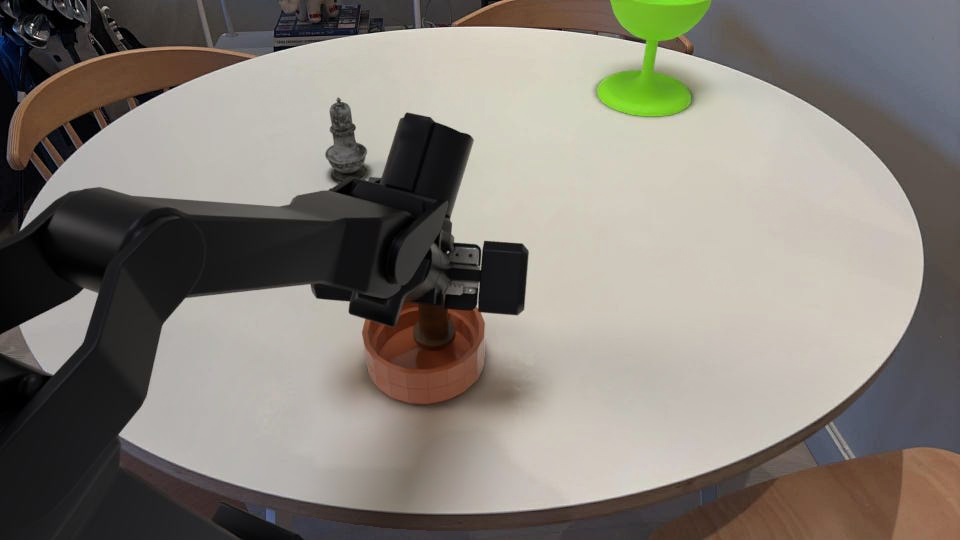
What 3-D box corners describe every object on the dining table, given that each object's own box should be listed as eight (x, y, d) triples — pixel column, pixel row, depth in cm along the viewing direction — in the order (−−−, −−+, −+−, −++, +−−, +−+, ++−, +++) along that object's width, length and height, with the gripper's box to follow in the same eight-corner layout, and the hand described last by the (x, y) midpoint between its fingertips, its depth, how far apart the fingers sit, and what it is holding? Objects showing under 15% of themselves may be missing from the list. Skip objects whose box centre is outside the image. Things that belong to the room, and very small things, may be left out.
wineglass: (710, 106, 117) (736, -4, 105) (628, 124, 112) (645, 11, 100) (656, 68, 128) (674, -35, 116) (580, 83, 123) (590, -23, 112)
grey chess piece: (320, 177, 100) (306, 100, 92) (346, 159, 104) (335, 83, 96) (351, 189, 98) (340, 111, 90) (378, 170, 102) (369, 94, 94)
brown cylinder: (436, 357, 70) (430, 257, 62) (404, 337, 72) (394, 238, 64) (464, 333, 73) (462, 233, 65) (432, 314, 75) (427, 216, 67)
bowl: (431, 428, 67) (428, 394, 63) (343, 368, 72) (336, 334, 69) (507, 354, 74) (509, 320, 71) (422, 305, 80) (419, 272, 77)
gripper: (533, 169, 54) (534, 205, 69) (298, 154, 56) (350, 193, 71) (521, 313, 53) (525, 317, 68) (283, 294, 55) (339, 302, 70)
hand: (434, 279), depth 70 cm, fingers closed on brown cylinder, 3 cm apart
